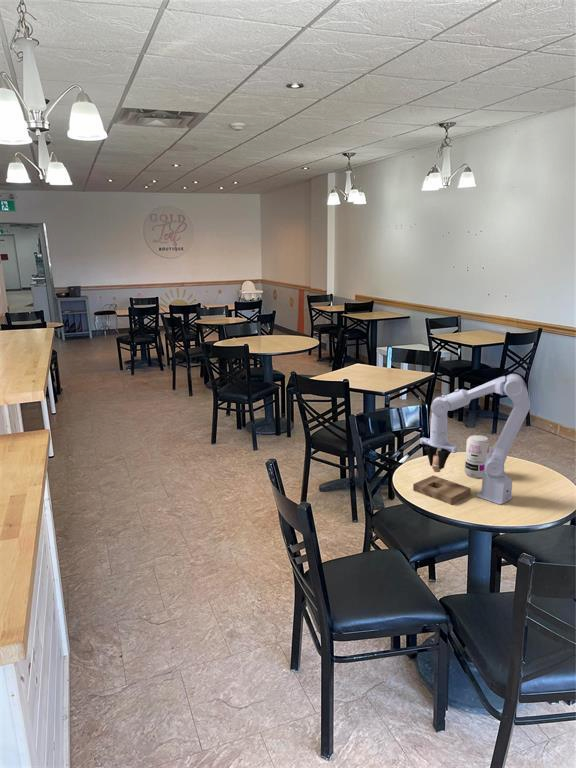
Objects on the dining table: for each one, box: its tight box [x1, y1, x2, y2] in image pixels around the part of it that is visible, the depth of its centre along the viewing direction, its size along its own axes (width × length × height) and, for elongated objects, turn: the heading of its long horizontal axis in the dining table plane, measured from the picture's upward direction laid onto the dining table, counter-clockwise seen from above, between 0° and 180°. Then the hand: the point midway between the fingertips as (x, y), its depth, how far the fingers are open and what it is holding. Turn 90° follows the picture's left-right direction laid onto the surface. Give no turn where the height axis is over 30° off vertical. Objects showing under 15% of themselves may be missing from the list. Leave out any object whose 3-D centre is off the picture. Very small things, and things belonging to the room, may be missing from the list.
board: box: [412, 475, 472, 505], centre depth 198 cm, size 16×12×2 cm
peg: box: [431, 453, 442, 473], centre depth 198 cm, size 3×3×6 cm
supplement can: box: [464, 434, 490, 479], centre depth 212 cm, size 8×8×15 cm
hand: (437, 466), depth 199 cm, fingers closed on peg, 3 cm apart
